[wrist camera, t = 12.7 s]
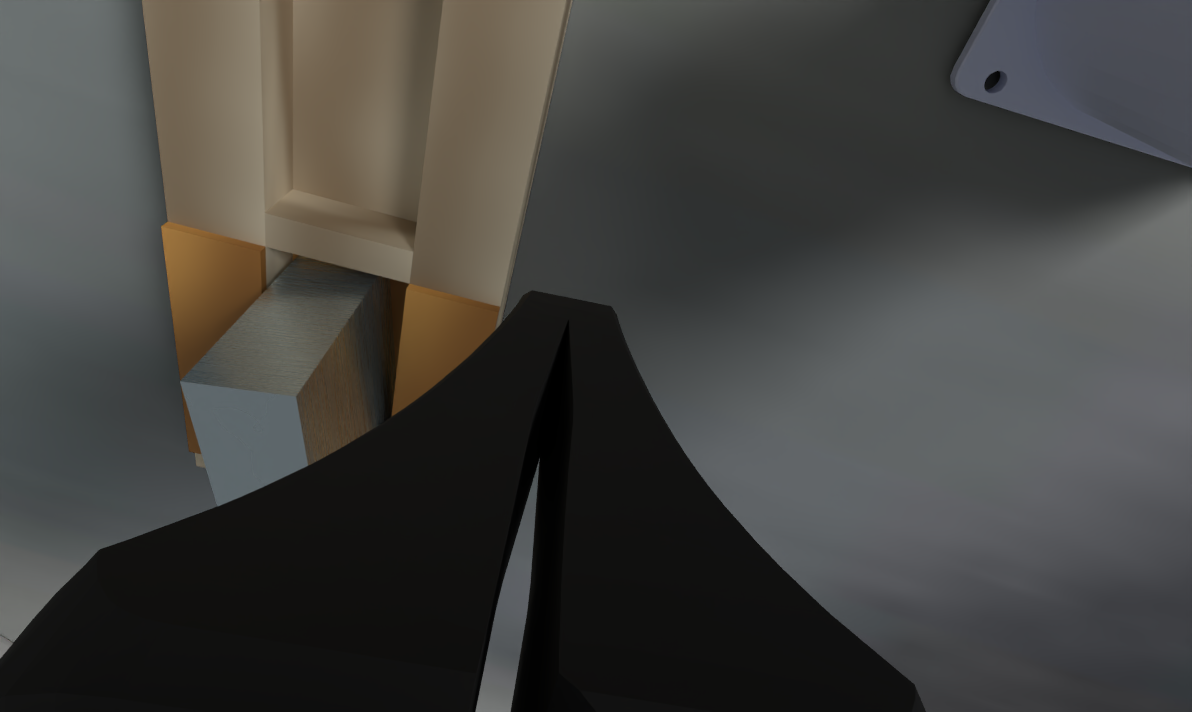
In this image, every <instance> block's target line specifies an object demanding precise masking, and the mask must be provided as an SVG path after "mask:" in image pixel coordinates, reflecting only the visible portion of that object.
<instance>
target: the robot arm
mask: <svg viewBox="0 0 1192 712" xmlns="http://www.w3.org/2000/svg"><path fill="white" fill-rule="evenodd" d="M996 71H1000V79H999V82H998V83H997V84H996V85H995V86H994V87H992V88H990V89H988V90H985V87H984V84H985V80H986V78H987V77H988V76H989V75H990V74H991V73H993V72H996ZM950 79H951V85H952V87H953V89H954V90H955V91H957V92H958V93H960V94H962V95H963V96H965V97H968V98H971V99H974V100H978V101H981V102H984V103H987V104H990V105H994V106H997V107H1000V108H1003V109H1006V110H1009V111H1013V112H1016V113H1019V114H1022V115H1025V116H1029V117H1032V118H1035V119H1038V120H1041V121H1044V122H1048V123H1051V124H1054V125H1057V126H1060V127H1064V128H1067V129H1070V130H1073V131H1076V132H1079V133H1083V134H1086V135H1089V136H1092V137H1095V138H1099V139H1102V140H1105V141H1108V142H1111V143H1115V144H1118V145H1121V146H1124V147H1127V148H1130V149H1134V150H1137V151H1140V152H1143V153H1146V154H1150V155H1153V156H1156V157H1159V158H1162V159H1165V160H1169V161H1172V162H1175V163H1178V164H1181V165H1185V166H1188V167H1191V168H1192V0H990V1H989V3H988V5H987V7H986V9H985V11H984V12H983V14H982V16H981V18H980V20H979V22H978V23H977V25H976V27H975V29H974V31H973V32H972V34H971V36H970V38H969V40H968V42H967V43H966V45H965V47H964V49H963V51H962V53H961V54H960V56H959V58H958V60H957V62H956V63H955V65H954V67H953V70H952V73H951V75H950ZM539 458H540V462H539V475H538V489H537V502H536V516H535V530H534V544H533V558H532V572H531V585H530V594H529V602H528V611H527V618H526V624H525V630H524V636H523V642H522V648H521V654H520V660H519V666H518V672H517V678H516V684H515V690H514V695H513V701H512V707H511V712H926V711H925V708H924V706H923V704H922V701H921V699H920V697H919V694H918V692H917V690H916V687H915V685H914V684H913V683H912V682H911V681H910V680H908V679H907V678H906V677H905V676H904V675H902V674H901V673H900V672H899V671H898V670H896V669H895V668H894V667H893V666H892V665H890V664H889V663H888V662H887V661H886V660H884V659H883V658H882V657H881V656H880V655H878V654H877V653H876V652H875V651H874V650H873V649H871V648H870V647H869V646H868V645H867V644H865V643H864V642H863V641H862V640H861V639H859V638H858V637H857V636H856V635H855V634H853V633H852V632H851V631H850V630H849V629H847V628H846V627H845V626H844V625H843V624H841V623H840V622H839V621H838V620H837V619H835V618H834V617H833V616H832V615H831V614H830V613H829V612H828V611H826V610H825V609H824V608H823V607H822V606H821V605H820V604H819V603H818V602H817V601H816V600H815V599H814V598H813V597H811V596H810V595H809V594H808V593H807V592H806V591H805V590H804V589H803V588H802V587H801V586H800V585H799V584H798V583H797V582H796V581H795V580H794V579H793V578H792V577H791V576H789V575H788V574H787V573H786V572H785V571H784V570H783V569H782V568H781V567H780V566H779V565H778V564H777V563H776V562H775V561H774V560H773V559H772V558H771V556H770V555H769V554H768V553H767V552H766V551H765V550H764V549H763V548H762V547H761V546H760V545H759V544H758V543H757V542H756V541H755V540H754V539H753V537H752V536H751V535H750V534H749V533H748V532H747V531H746V530H745V528H744V527H743V526H742V525H741V524H740V523H739V522H738V521H737V519H736V518H735V517H734V516H733V515H732V514H731V513H730V512H729V510H728V509H727V508H726V507H725V506H724V505H723V503H722V502H721V501H720V500H719V498H718V497H717V496H716V495H715V494H714V492H713V491H712V490H711V489H710V487H709V486H708V485H707V483H706V482H705V481H704V479H703V478H702V477H701V475H700V474H699V473H698V471H697V470H696V468H695V467H694V466H693V464H692V463H691V461H690V460H689V458H688V457H687V456H686V454H685V453H684V451H683V450H682V448H681V446H680V445H679V443H678V442H677V440H676V439H675V437H674V435H673V434H672V432H671V430H670V429H669V427H668V425H667V424H666V422H665V420H664V419H663V417H662V415H661V413H660V412H659V410H658V408H657V406H656V404H655V402H654V401H653V399H652V397H651V395H650V393H649V391H648V389H647V387H646V385H645V383H644V381H643V379H642V377H641V375H640V373H639V371H638V369H637V366H636V364H635V362H634V360H633V358H632V355H631V353H630V350H629V348H628V346H627V343H626V341H625V338H624V336H623V333H622V330H621V327H620V324H619V321H618V318H617V314H616V313H615V311H614V310H613V308H612V307H611V306H607V305H602V304H597V303H592V302H587V301H582V300H577V299H572V298H567V297H562V296H557V295H552V294H547V293H542V292H538V291H533V290H532V291H530V292H528V293H526V294H525V295H523V297H522V298H521V300H520V301H519V303H518V304H517V305H516V307H515V308H514V309H513V310H512V312H511V313H510V314H509V315H508V316H507V318H506V319H505V320H504V321H503V322H502V323H501V324H500V325H499V327H498V328H497V329H496V330H495V331H494V332H493V333H492V334H491V335H490V336H489V337H488V338H487V339H486V340H485V341H484V342H483V343H482V344H481V345H480V346H479V347H478V348H477V349H476V350H475V351H474V352H473V353H472V354H471V355H470V356H469V357H467V358H466V359H465V360H464V361H463V362H462V363H461V364H459V365H458V366H457V367H456V368H455V369H454V370H452V371H451V372H450V373H449V374H448V375H446V376H445V377H444V378H443V379H442V380H440V381H439V382H438V383H437V384H436V385H435V386H433V387H432V388H431V389H430V390H428V391H427V392H426V393H424V394H423V395H422V396H420V397H419V398H418V399H416V400H415V401H414V402H412V403H411V404H409V405H408V406H407V407H405V408H404V409H402V410H401V411H399V412H398V413H396V414H395V415H393V416H392V417H390V418H389V419H387V420H386V421H385V422H383V423H381V424H380V425H378V426H377V427H375V428H373V429H372V430H370V431H368V432H367V433H365V434H363V435H362V436H360V437H358V438H357V439H355V440H353V441H352V442H350V443H348V444H347V445H345V446H343V447H342V448H340V449H338V450H336V451H334V452H333V453H331V454H329V455H327V456H325V457H324V458H322V459H320V460H318V461H316V462H314V463H312V464H310V465H308V466H306V467H304V468H302V469H300V470H298V471H296V472H294V473H292V474H289V475H287V476H285V477H283V478H281V479H279V480H277V481H275V482H273V483H270V484H268V485H266V486H264V487H262V488H260V489H257V490H255V491H253V492H251V493H248V494H246V495H244V496H242V497H239V498H237V499H234V500H232V501H230V502H227V503H225V504H222V505H220V506H217V507H215V508H213V509H210V510H207V511H204V512H202V513H199V514H196V515H194V516H191V517H188V518H186V519H183V520H180V521H178V522H175V523H172V524H169V525H167V526H164V527H161V528H159V529H156V530H153V531H151V532H148V533H145V534H143V535H140V536H137V537H134V538H132V539H129V540H126V541H123V542H120V543H117V544H114V545H112V546H109V547H106V548H103V549H100V550H99V551H98V552H97V553H96V554H95V555H94V556H93V557H92V558H91V559H90V560H89V561H88V562H87V564H86V565H85V566H84V567H83V568H82V569H81V570H80V571H79V572H77V573H76V574H75V575H74V576H73V577H72V578H71V579H70V580H69V581H68V582H67V583H66V584H65V585H64V586H63V587H62V588H61V589H60V590H59V591H58V592H57V593H56V594H55V595H54V596H53V597H52V599H51V600H50V601H49V602H48V603H47V604H46V605H45V606H44V607H43V609H42V610H41V611H40V612H39V613H38V614H37V615H36V616H35V618H34V619H33V620H32V621H31V622H30V623H29V625H28V626H27V627H26V628H25V629H24V631H23V632H22V633H21V634H20V635H19V637H18V638H17V639H16V640H15V641H14V643H13V644H12V645H11V646H10V647H9V649H8V650H7V651H6V652H5V654H4V655H3V656H2V657H1V658H0V712H475V711H476V706H477V701H478V696H479V691H480V686H481V681H482V676H483V671H484V666H485V661H486V656H487V651H488V646H489V641H490V636H491V631H492V626H493V621H494V616H495V611H496V607H497V603H498V599H499V595H500V591H501V587H502V583H503V579H504V576H505V572H506V569H507V566H508V562H509V559H510V555H511V552H512V549H513V545H514V542H515V539H516V535H517V532H518V529H519V525H520V522H521V519H522V515H523V512H524V509H525V505H526V502H527V498H528V495H529V492H530V488H531V485H532V482H533V478H534V475H535V472H536V468H537V465H538V461H539Z"/></svg>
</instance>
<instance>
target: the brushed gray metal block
mask: <svg viewBox="0 0 1192 712" xmlns="http://www.w3.org/2000/svg"><path fill="white" fill-rule="evenodd" d="M395 382H396V366H395V350H394V334H393V317H392V301H391V284H390V278H386V277H382V276H378V275H374V274H370V273H366V272H362V271H358V270H354V269H351V268H347V267H343V266H339V265H335V264H331V263H327V262H323V261H319V260H315V259H312V258H308V257H304V256H300V255H298V256H297V257H296V258H295V260H294V261H293V262H292V263H291V264H290V265H289V266H288V267H287V268H286V269H285V270H284V271H283V272H282V273H281V274H280V275H279V277H278V278H277V279H276V280H275V281H274V282H273V283H272V284H271V285H270V286H269V287H268V288H267V289H266V290H265V291H264V292H263V294H262V295H261V296H260V297H259V298H258V299H257V300H256V301H255V302H254V303H253V304H252V305H251V306H250V307H249V308H248V309H247V311H246V312H245V313H244V314H243V315H242V316H241V317H240V318H239V319H238V320H237V321H236V322H235V323H234V324H233V325H232V326H231V328H230V329H229V330H228V331H227V332H226V333H225V334H224V335H223V336H222V337H221V338H220V339H219V340H218V341H217V342H216V343H215V345H214V346H213V347H212V348H211V349H210V350H209V351H208V352H207V353H206V354H205V355H204V356H203V357H202V358H201V359H200V360H199V362H198V363H197V364H196V365H195V366H194V367H193V368H192V369H191V370H190V371H189V372H188V373H187V374H186V375H185V376H184V377H183V379H182V380H181V381H180V383H181V387H182V390H183V393H184V397H185V400H186V403H187V407H188V410H189V413H190V417H191V420H192V423H193V427H194V430H195V433H196V437H197V440H198V444H199V447H200V450H201V454H202V457H203V460H204V464H205V467H206V470H207V474H208V477H209V480H210V484H211V487H212V490H213V494H214V497H215V500H216V504H217V506H220V505H222V504H225V503H227V502H230V501H232V500H234V499H237V498H239V497H242V496H244V495H246V494H248V493H251V492H253V491H255V490H257V489H260V488H262V487H264V486H266V485H268V484H270V483H273V482H275V481H277V480H279V479H281V478H283V477H285V476H287V475H289V474H292V473H294V472H296V471H298V470H300V469H302V468H304V467H306V466H308V465H310V464H312V463H314V462H316V461H318V460H320V459H322V458H324V457H325V456H327V455H329V454H331V453H333V452H334V451H336V450H338V449H340V448H342V447H343V446H345V445H347V444H348V443H350V442H352V441H353V440H355V439H357V438H358V437H360V436H362V435H363V434H365V433H367V432H368V431H370V430H372V429H373V428H375V427H377V426H378V425H380V424H381V423H383V422H385V421H386V420H387V419H389V418H390V417H391V416H392V408H393V399H394V391H395Z"/></svg>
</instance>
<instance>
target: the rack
mask: <svg viewBox="0 0 1192 712" xmlns="http://www.w3.org/2000/svg"><path fill="white" fill-rule="evenodd" d="M572 1H573V0H142V6H143V14H144V23H145V31H146V40H147V48H148V57H149V65H150V74H151V82H152V91H153V100H154V108H155V117H156V125H157V134H158V142H159V151H160V159H161V168H162V176H163V185H164V193H165V202H166V210H167V219H168V222H167V223H165V224H164V225H162V226H161V229H162V237H163V246H164V254H165V262H166V270H167V278H168V286H169V294H170V302H171V310H172V318H173V326H174V334H175V342H176V350H177V358H178V366H179V375H180V381H181V380H182V379H183V377H184V376H185V375H186V374H187V373H188V372H189V371H190V370H191V369H192V368H193V367H194V366H195V365H196V364H197V363H198V362H199V360H200V359H201V358H202V357H203V356H204V355H205V354H206V353H207V352H208V351H209V350H210V349H211V348H212V347H213V346H214V345H215V343H216V342H217V341H218V340H219V339H220V338H221V337H222V336H223V335H224V334H225V333H226V332H227V331H228V330H229V329H230V328H231V326H232V325H233V324H234V323H235V322H236V321H237V320H238V319H239V318H240V317H241V316H242V315H243V314H244V313H245V312H246V311H247V309H248V308H249V307H250V306H251V305H252V304H253V303H254V302H255V301H256V300H257V299H258V298H259V297H260V296H261V295H262V294H263V292H264V291H265V290H266V289H267V288H268V287H269V286H270V285H271V284H272V283H273V282H274V281H275V280H276V279H277V278H278V277H279V275H280V274H281V273H282V272H283V271H284V270H285V269H286V268H287V267H288V266H289V265H290V264H291V263H292V262H293V261H294V260H295V258H296V257H297V256H298V255H300V256H304V257H308V258H312V259H315V260H319V261H323V262H327V263H331V264H335V265H339V266H343V267H347V268H351V269H354V270H358V271H362V272H366V273H370V274H374V275H378V276H382V277H386V278H390V284H391V301H392V317H393V334H394V350H395V366H396V382H395V391H394V399H393V408H392V416H393V415H395V414H396V413H398V412H399V411H401V410H402V409H404V408H405V407H407V406H408V405H409V404H411V403H412V402H414V401H415V400H416V399H418V398H419V397H420V396H422V395H423V394H424V393H426V392H427V391H428V390H430V389H431V388H432V387H433V386H435V385H436V384H437V383H438V382H439V381H440V380H442V379H443V378H444V377H445V376H446V375H448V374H449V373H450V372H451V371H452V370H454V369H455V368H456V367H457V366H458V365H459V364H461V363H462V362H463V361H464V360H465V359H466V358H467V357H469V356H470V355H471V354H472V353H473V352H474V351H475V350H476V349H477V348H478V347H479V346H480V345H481V344H482V343H483V342H484V341H485V340H486V339H487V338H488V337H489V336H490V335H491V334H492V333H493V332H494V331H495V330H496V329H497V328H498V327H499V325H500V324H501V323H502V319H503V314H504V309H505V305H506V300H507V296H508V291H509V287H510V282H511V278H512V273H513V269H514V264H515V260H516V255H517V251H518V246H519V242H520V237H521V232H522V228H523V223H524V219H525V214H526V210H527V205H528V201H529V196H530V192H531V187H532V183H533V178H534V174H535V169H536V164H537V160H538V155H539V151H540V146H541V142H542V137H543V133H544V128H545V124H546V119H547V115H548V110H549V106H550V101H551V96H552V92H553V87H554V83H555V78H556V74H557V69H558V65H559V60H560V56H561V51H562V47H563V42H564V38H565V33H566V28H567V24H568V19H569V15H570V10H571V6H572ZM181 391H182V399H183V407H184V415H185V423H186V431H187V439H188V447H189V452H193V453H195V458H196V466H199V467H203V468H206V467H205V464H204V460H203V457H202V454H201V450H200V447H199V444H198V440H197V437H196V433H195V430H194V427H193V423H192V420H191V417H190V413H189V410H188V407H187V403H186V400H185V397H184V393H183V390H182V387H181ZM392 416H391V417H392Z"/></svg>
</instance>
